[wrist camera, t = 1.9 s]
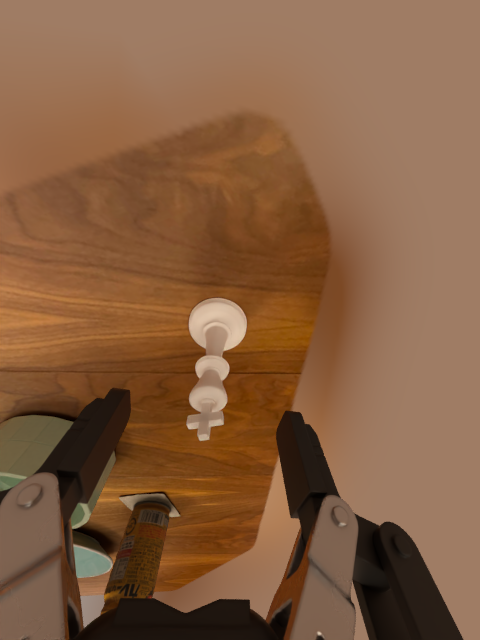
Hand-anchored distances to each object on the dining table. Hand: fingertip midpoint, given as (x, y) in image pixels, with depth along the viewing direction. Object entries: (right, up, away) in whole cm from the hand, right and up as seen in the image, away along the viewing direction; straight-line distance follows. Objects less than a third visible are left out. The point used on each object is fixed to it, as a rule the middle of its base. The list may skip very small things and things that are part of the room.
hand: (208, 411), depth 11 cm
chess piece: (0, +5, +7) cm, 9 cm away
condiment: (-13, -25, +24) cm, 37 cm away
